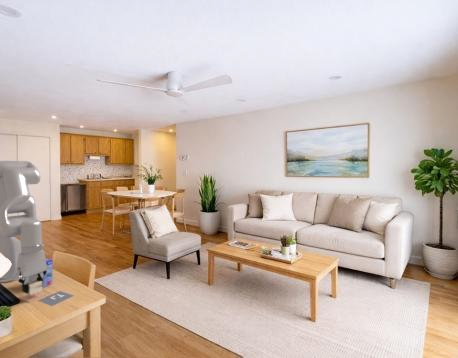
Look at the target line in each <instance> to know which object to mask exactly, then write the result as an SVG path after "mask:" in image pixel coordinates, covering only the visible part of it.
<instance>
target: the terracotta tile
mask: <svg viewBox="0 0 458 358" xmlns="http://www.w3.org/2000/svg"><path fill="white" fill-rule="evenodd" d="M44 297H47V294H46V293H43V292H41V291H40V292H37V293H35V294H32V295H29V294H26V295H23V296H20V297H19V300H22V301H24V302H27V303H31V302H34V301H36V300H40V299H42V298H44Z"/></svg>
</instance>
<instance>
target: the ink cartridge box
mask: <svg viewBox="0 0 458 358" xmlns="http://www.w3.org/2000/svg"><path fill="white" fill-rule="evenodd" d="M53 262H54V261H53V259H51V258H46V264H47V265H48V266H49V267H50V269H49V270H48V271H47V273H46V274H45V276H44V278H43V287H42V289H44V288H46V287H48V286H50V285H52V284H53V282H54V281H53V280H54V277H53V274H54V273H53V266H54V265H53V264H54V263H53ZM37 278H38V276H37V274H35V275H32V276H29V278H28V282H30V281H33V280H37Z"/></svg>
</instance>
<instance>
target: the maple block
mask: <svg viewBox="0 0 458 358" xmlns="http://www.w3.org/2000/svg"><path fill="white" fill-rule="evenodd" d="M27 283H28V284H29V293H25V292H23V294H26V295H28V294H29V295H32V294H35V293H37V292H40V293H41V292H42V291H43V289H44V288H42V281H38V280H33V281H30V282H27Z"/></svg>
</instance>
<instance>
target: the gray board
mask: <svg viewBox="0 0 458 358" xmlns="http://www.w3.org/2000/svg"><path fill="white" fill-rule="evenodd" d="M73 297H75V295H74V294H70V293H67V292H64V291H61V290H60V291H57V292H55V293H51V294H49V295H46V296H44V297H41V298H39V299H37V301H38V302H40V303H43V304H45V305H47V306H51V307H53V306H56V305H58V304H60V303H61V302H64V301H66V300H68V299H70V298H73Z"/></svg>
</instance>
